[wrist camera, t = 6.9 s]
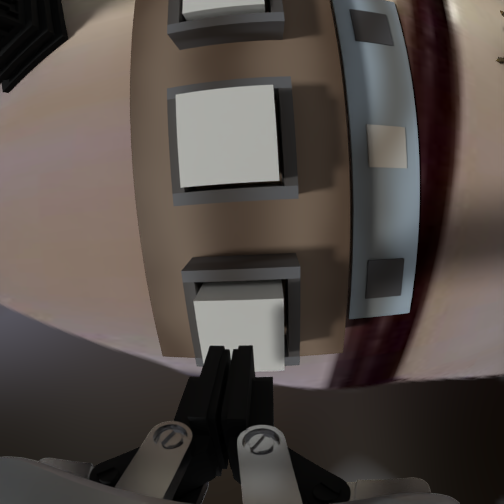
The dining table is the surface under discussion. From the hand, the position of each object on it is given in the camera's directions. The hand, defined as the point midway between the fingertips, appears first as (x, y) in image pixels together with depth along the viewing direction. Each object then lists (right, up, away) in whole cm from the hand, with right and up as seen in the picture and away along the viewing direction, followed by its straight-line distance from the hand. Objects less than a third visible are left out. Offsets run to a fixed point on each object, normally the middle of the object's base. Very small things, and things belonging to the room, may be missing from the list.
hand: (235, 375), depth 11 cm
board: (+3, +11, +7) cm, 14 cm away
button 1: (0, +2, +5) cm, 5 cm away
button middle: (0, +10, +2) cm, 10 cm away
